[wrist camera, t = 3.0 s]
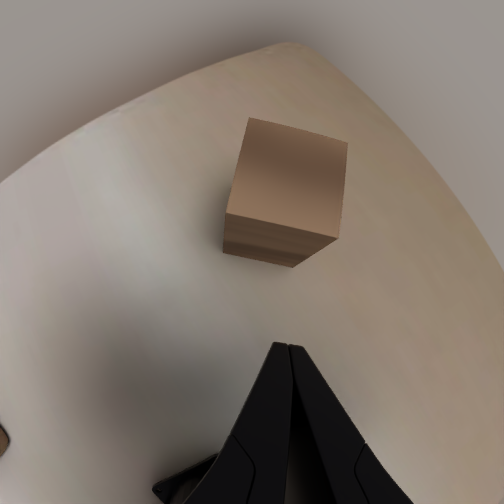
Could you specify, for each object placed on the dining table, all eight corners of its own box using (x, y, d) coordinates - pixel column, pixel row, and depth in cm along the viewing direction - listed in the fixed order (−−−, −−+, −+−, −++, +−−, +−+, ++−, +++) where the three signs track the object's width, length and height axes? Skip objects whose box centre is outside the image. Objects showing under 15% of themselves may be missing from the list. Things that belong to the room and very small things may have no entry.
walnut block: (292, 267, 22) (338, 238, 14) (222, 252, 22) (225, 212, 13) (303, 202, 23) (347, 142, 15) (237, 187, 23) (249, 117, 14)
